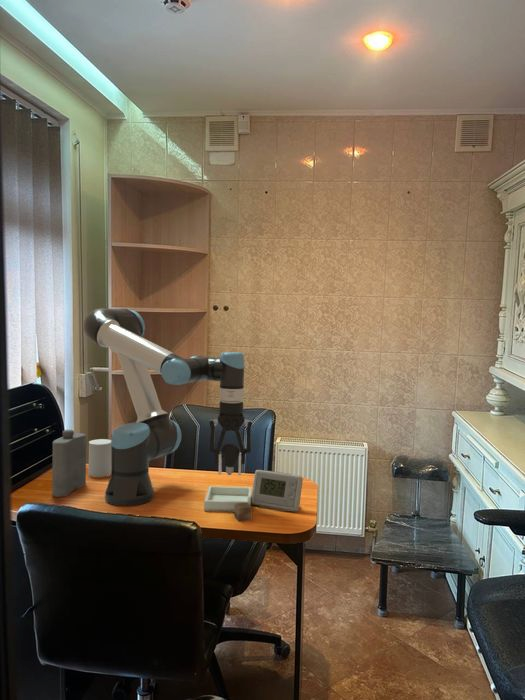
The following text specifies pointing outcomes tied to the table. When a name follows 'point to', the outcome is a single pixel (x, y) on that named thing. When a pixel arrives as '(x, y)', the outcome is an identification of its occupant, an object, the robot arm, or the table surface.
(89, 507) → the table surface
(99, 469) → the cup
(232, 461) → the light bulb
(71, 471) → the flask
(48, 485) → the table surface
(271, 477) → the digital clock
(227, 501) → the tray
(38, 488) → the table surface
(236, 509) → the walnut block
